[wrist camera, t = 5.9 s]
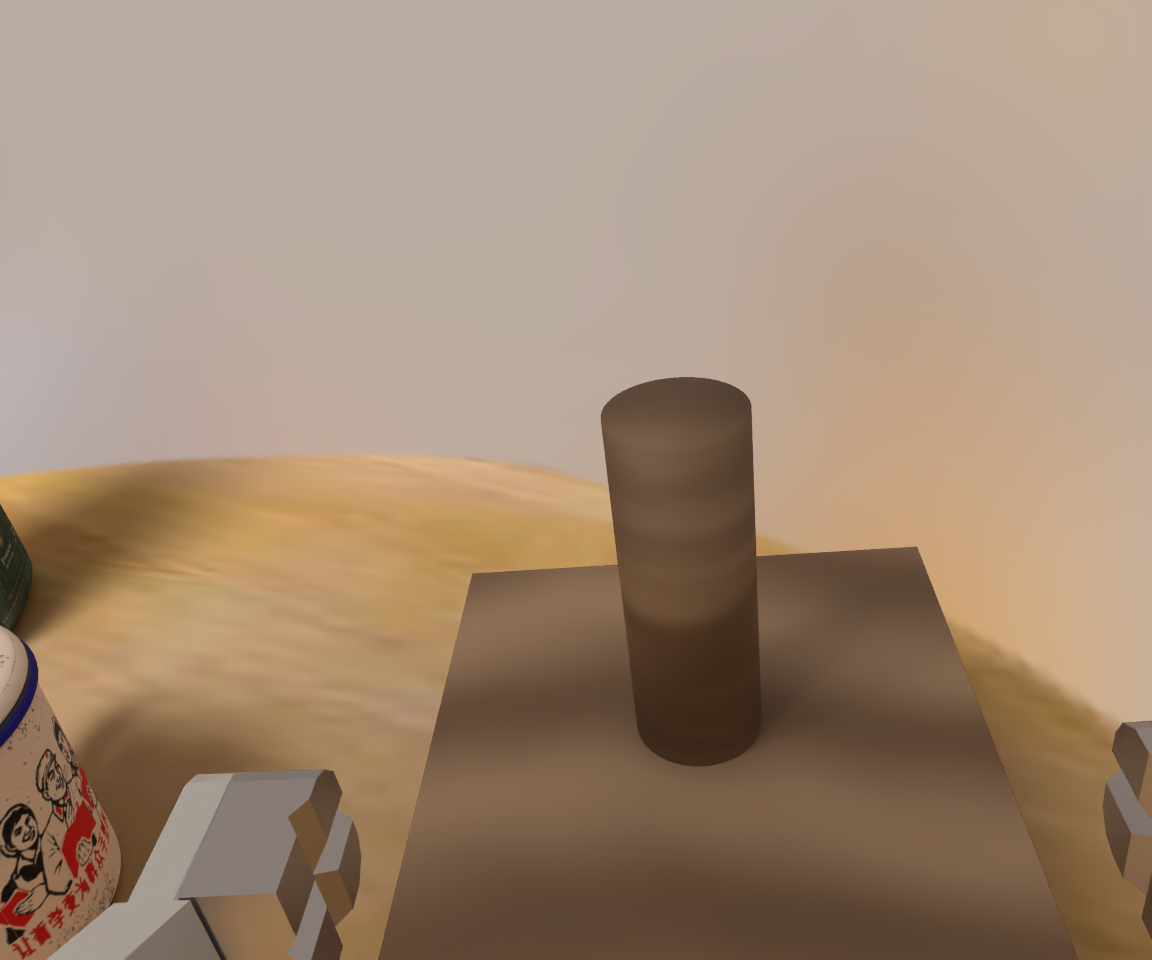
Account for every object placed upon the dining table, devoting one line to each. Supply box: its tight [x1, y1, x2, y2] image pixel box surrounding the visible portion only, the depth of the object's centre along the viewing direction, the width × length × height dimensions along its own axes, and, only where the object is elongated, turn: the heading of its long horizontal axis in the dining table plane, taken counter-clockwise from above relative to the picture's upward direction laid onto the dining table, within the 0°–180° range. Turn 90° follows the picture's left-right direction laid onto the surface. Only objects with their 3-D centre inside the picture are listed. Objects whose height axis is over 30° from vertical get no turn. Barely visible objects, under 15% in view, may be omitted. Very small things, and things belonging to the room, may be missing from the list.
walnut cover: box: [378, 377, 1078, 960], centre depth 26 cm, size 14×14×17 cm
